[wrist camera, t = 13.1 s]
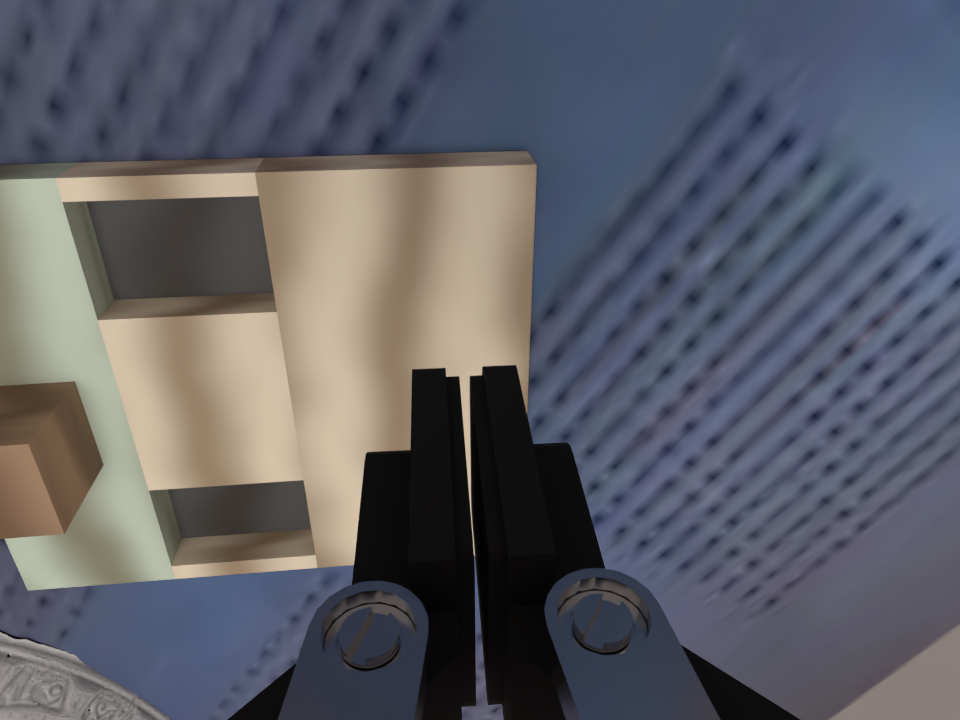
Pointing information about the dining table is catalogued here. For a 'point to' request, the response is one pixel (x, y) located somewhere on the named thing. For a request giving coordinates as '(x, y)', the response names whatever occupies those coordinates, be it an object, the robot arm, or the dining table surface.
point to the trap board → (252, 340)
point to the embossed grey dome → (61, 687)
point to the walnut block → (43, 458)
